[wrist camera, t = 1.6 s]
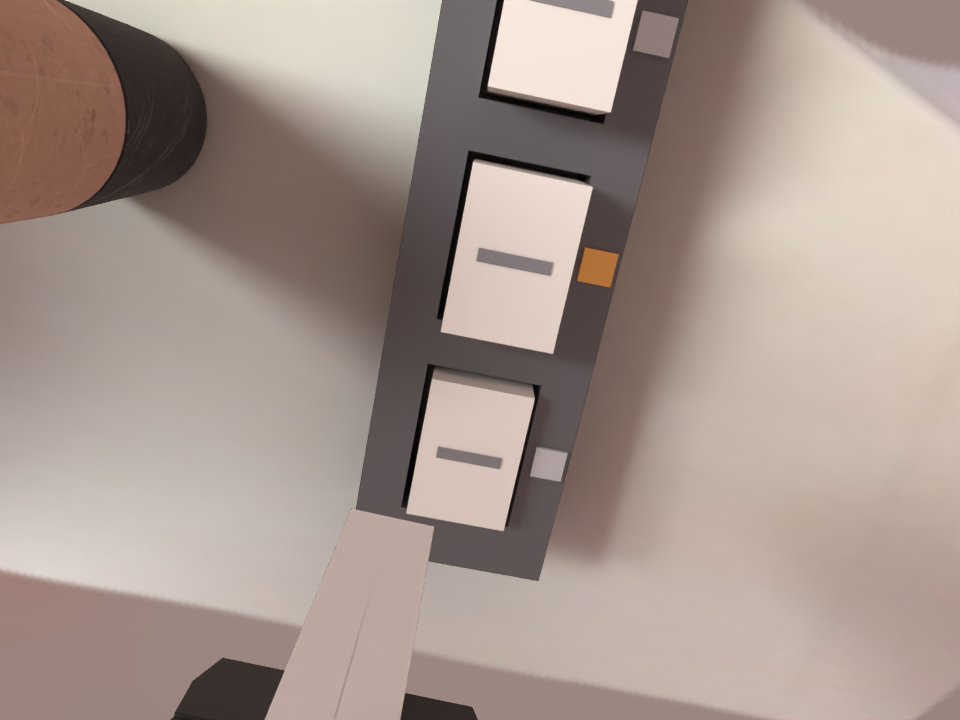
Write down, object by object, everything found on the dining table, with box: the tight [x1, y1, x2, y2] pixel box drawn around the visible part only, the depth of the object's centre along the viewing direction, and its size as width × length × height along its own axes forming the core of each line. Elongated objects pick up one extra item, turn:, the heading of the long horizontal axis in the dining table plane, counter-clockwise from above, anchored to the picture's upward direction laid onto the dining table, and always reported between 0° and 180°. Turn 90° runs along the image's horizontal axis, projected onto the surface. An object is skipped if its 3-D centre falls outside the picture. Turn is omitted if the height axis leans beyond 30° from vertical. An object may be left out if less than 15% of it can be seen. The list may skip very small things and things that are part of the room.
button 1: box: [406, 365, 535, 531], centre depth 34 cm, size 4×6×5 cm
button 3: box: [487, 0, 638, 116], centre depth 27 cm, size 4×6×5 cm
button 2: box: [441, 158, 593, 354], centre depth 30 cm, size 4×6×5 cm
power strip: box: [356, 0, 688, 581], centre depth 32 cm, size 9×36×5 cm, turn 169°
